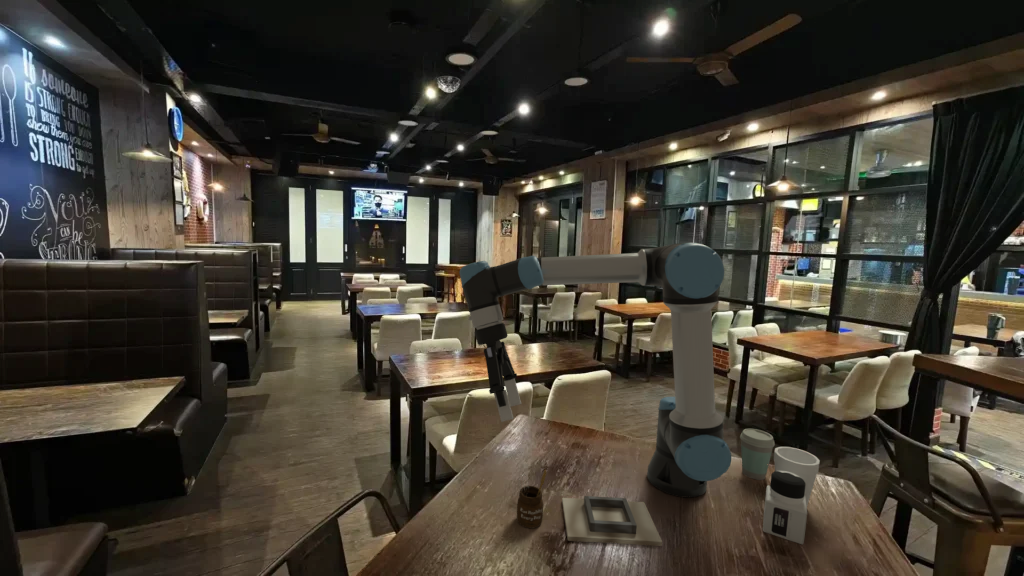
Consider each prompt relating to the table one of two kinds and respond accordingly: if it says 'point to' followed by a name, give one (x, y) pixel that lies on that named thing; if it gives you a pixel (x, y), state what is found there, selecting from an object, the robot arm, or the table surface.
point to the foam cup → (798, 465)
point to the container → (785, 507)
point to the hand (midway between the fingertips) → (512, 412)
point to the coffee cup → (756, 452)
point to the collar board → (609, 521)
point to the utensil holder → (530, 505)
